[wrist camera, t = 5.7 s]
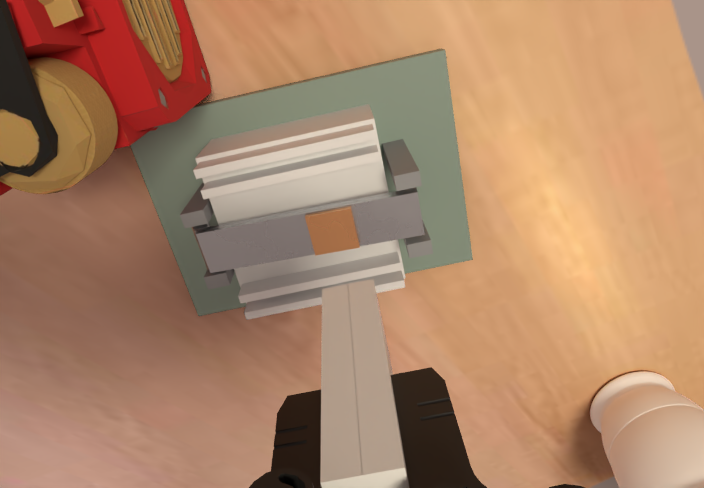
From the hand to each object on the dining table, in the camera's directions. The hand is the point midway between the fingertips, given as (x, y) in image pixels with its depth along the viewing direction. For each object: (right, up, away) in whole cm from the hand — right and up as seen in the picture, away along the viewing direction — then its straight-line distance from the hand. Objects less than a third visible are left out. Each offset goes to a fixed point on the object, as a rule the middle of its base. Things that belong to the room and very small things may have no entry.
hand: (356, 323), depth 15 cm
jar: (+28, -14, +38) cm, 49 cm away
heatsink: (-4, +7, +27) cm, 28 cm away
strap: (-3, +4, +21) cm, 21 cm away
